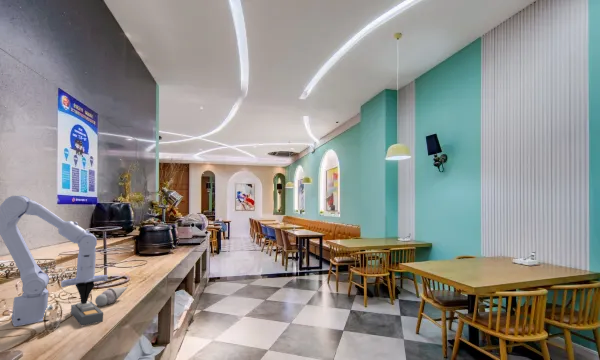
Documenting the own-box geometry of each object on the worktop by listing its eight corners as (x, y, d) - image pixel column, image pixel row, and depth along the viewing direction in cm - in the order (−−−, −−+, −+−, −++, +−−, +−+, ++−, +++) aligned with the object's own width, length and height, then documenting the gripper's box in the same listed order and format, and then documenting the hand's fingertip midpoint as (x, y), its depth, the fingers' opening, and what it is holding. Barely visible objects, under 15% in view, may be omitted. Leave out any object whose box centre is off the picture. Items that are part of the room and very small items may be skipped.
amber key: (85, 318, 112) (85, 314, 112) (82, 315, 114) (83, 312, 114) (97, 315, 114) (97, 312, 114) (94, 313, 117) (94, 309, 117)
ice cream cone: (129, 296, 142) (98, 313, 128) (120, 286, 144) (88, 302, 129) (135, 287, 141) (104, 302, 127) (126, 277, 142) (95, 291, 128)
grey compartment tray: (81, 326, 110) (81, 317, 110) (70, 313, 121) (71, 304, 121) (102, 321, 114) (103, 312, 114) (90, 309, 126) (91, 301, 126)
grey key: (82, 311, 115) (82, 308, 115) (79, 309, 118) (80, 306, 118) (93, 309, 118) (94, 306, 118) (91, 307, 120) (91, 303, 120)
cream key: (78, 308, 119) (79, 305, 119) (76, 306, 121) (76, 302, 121) (90, 306, 121) (90, 303, 121) (87, 304, 124) (88, 300, 124)
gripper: (64, 270, 114) (62, 310, 113) (110, 265, 124) (108, 301, 124) (61, 267, 119) (58, 305, 118) (105, 262, 129) (103, 297, 129)
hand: (83, 303), depth 121 cm, fingers closed, pressing on cream key
